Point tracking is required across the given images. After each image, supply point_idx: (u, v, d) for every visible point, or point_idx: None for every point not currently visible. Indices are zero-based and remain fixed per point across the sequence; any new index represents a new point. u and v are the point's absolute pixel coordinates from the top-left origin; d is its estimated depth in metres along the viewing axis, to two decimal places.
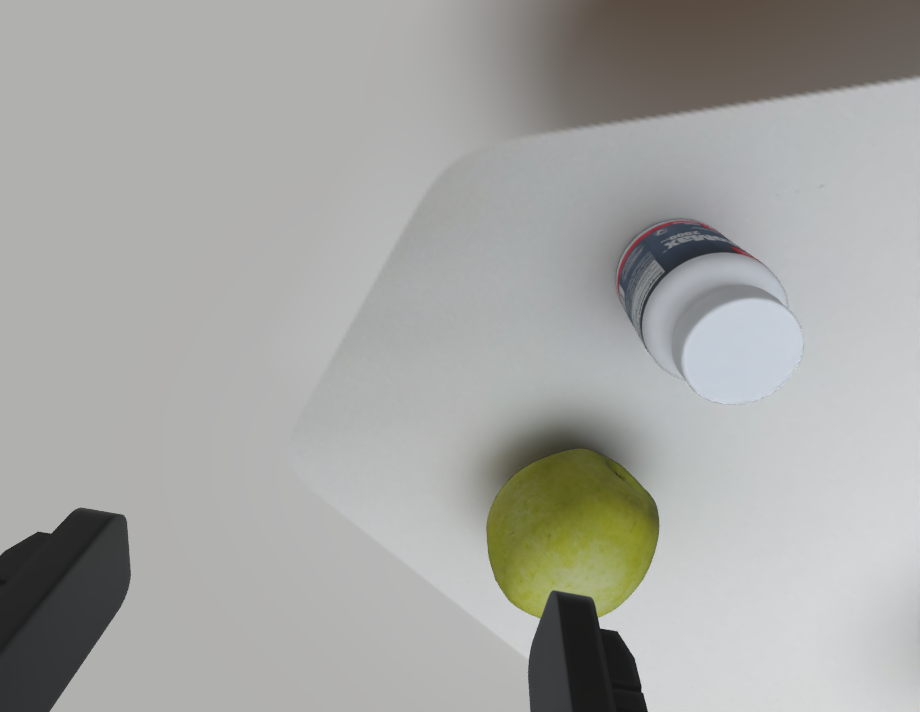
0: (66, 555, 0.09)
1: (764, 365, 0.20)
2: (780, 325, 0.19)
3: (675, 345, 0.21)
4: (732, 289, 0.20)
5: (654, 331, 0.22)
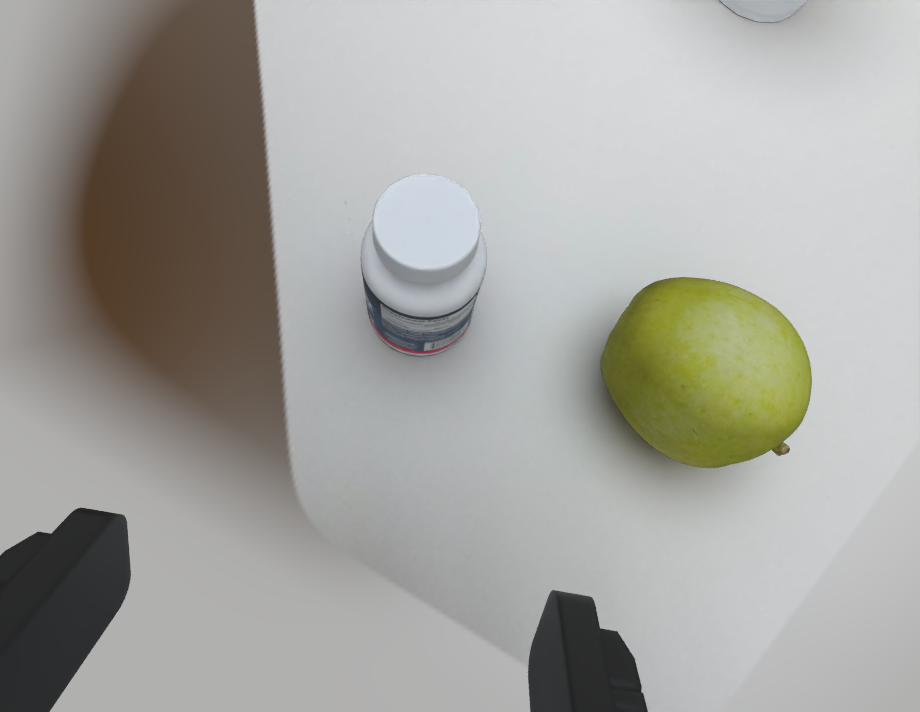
0: (66, 555, 0.09)
1: (438, 201, 0.22)
2: (398, 194, 0.22)
3: (427, 279, 0.22)
4: (373, 239, 0.22)
5: (430, 302, 0.23)
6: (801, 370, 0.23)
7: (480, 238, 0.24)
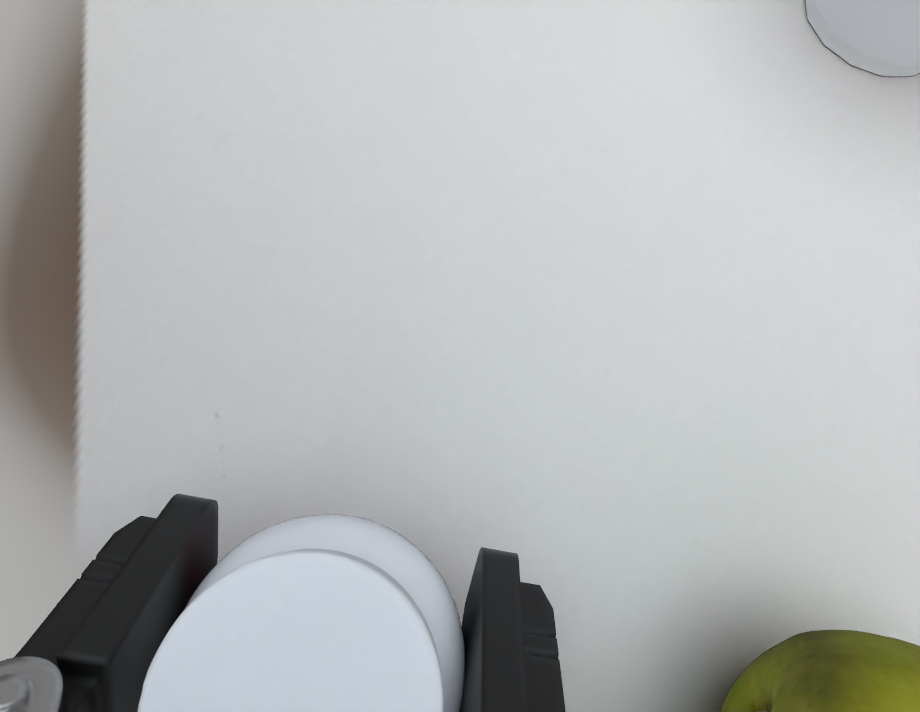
0: (174, 536, 0.10)
1: (326, 640, 0.08)
2: (216, 629, 0.08)
3: None
4: None
5: None
6: None
7: (448, 631, 0.10)
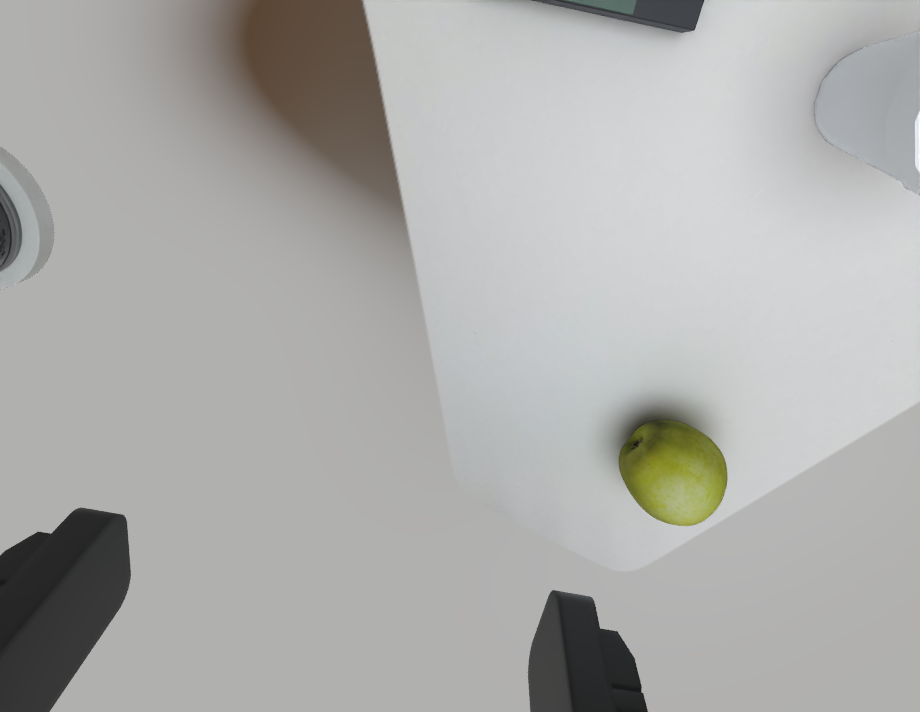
0: (66, 555, 0.09)
1: None
2: None
3: None
4: None
5: None
6: (711, 507, 0.46)
7: None
